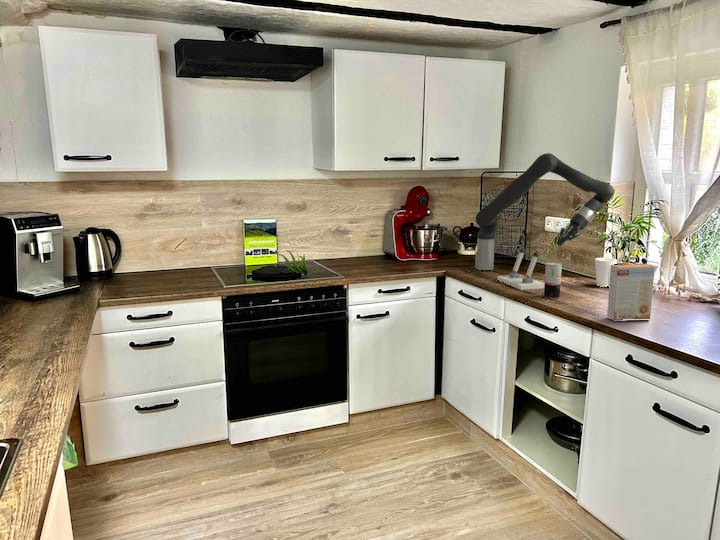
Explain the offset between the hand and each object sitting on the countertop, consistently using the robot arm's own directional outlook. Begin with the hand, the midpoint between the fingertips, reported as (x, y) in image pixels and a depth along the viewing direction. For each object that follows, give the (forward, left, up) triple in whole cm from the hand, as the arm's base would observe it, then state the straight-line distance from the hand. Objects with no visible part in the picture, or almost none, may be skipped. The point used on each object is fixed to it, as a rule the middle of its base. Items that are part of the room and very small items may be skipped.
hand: (558, 244), depth 259 cm
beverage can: (+14, -23, -20) cm, 33 cm away
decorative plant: (-102, -92, -20) cm, 139 cm away
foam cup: (+16, +14, -20) cm, 29 cm away
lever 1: (-16, -11, -15) cm, 24 cm away
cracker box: (+52, -29, -20) cm, 63 cm away
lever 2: (-5, -15, -15) cm, 21 cm away
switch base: (-11, -13, -19) cm, 26 cm away
